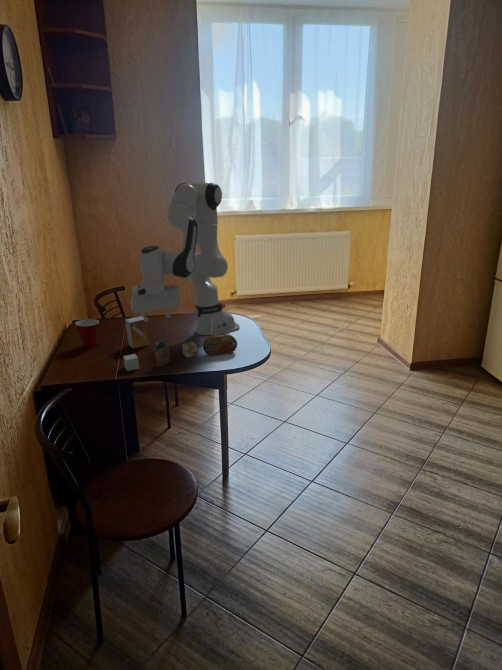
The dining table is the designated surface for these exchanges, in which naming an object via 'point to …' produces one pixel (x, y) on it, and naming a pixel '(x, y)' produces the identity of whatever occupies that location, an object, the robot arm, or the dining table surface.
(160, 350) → the lighter
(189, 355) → the cream rounded lump
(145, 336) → the small box
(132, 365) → the sage block
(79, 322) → the plastic cup
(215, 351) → the tin
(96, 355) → the dining table surface
